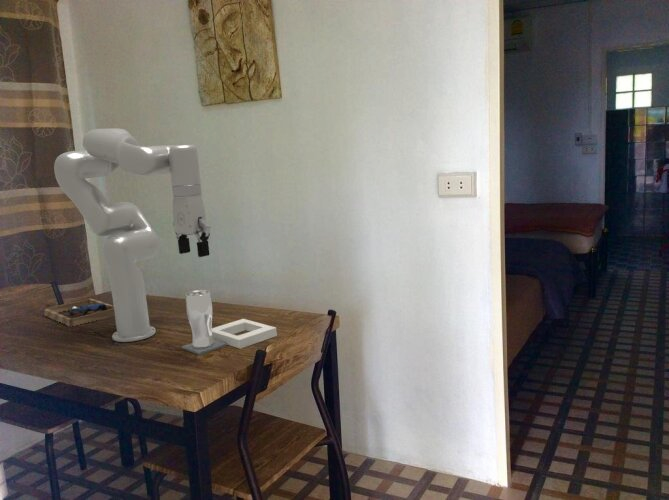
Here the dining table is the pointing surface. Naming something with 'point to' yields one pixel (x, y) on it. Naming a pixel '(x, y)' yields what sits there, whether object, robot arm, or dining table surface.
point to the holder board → (254, 336)
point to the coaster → (203, 350)
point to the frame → (54, 315)
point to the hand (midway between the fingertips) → (194, 254)
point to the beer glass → (200, 317)
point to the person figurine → (88, 308)
